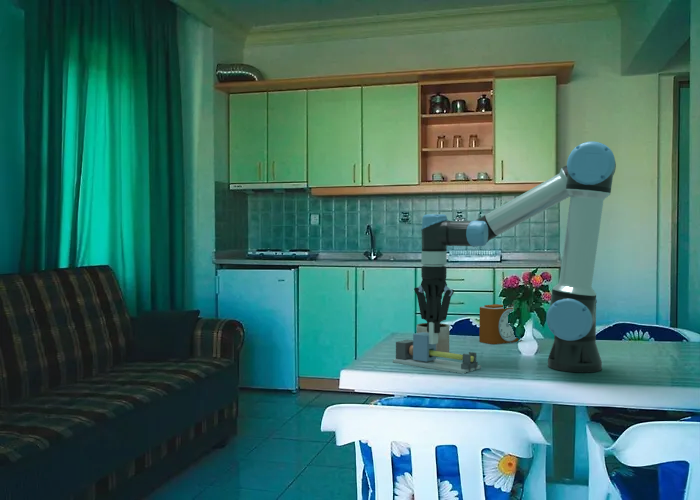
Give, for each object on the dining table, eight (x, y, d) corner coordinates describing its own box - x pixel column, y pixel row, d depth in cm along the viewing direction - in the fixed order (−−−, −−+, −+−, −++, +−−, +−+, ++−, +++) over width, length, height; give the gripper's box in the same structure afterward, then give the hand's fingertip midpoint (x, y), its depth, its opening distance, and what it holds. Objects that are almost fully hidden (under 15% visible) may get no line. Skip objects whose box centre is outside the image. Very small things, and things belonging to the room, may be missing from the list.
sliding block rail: (481, 368, 194) (481, 347, 194) (463, 373, 186) (463, 352, 186) (410, 357, 210) (410, 338, 210) (391, 362, 203) (392, 342, 202)
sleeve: (435, 359, 201) (436, 333, 201) (426, 361, 197) (426, 335, 197) (422, 357, 204) (422, 332, 204) (413, 359, 201) (413, 334, 200)
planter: (448, 357, 210) (448, 327, 210) (414, 356, 212) (414, 326, 212) (450, 351, 221) (450, 323, 221) (417, 350, 223) (418, 322, 223)
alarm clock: (493, 345, 234) (494, 307, 234) (476, 341, 241) (477, 304, 241) (522, 341, 242) (523, 304, 242) (505, 338, 249) (505, 302, 249)
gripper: (459, 265, 197) (458, 344, 197) (422, 264, 205) (422, 339, 206) (445, 266, 191) (445, 347, 191) (409, 265, 199) (408, 342, 200)
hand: (433, 343), depth 199 cm, fingers closed
